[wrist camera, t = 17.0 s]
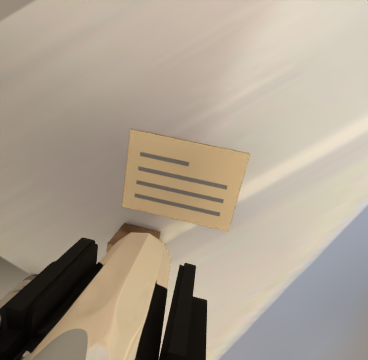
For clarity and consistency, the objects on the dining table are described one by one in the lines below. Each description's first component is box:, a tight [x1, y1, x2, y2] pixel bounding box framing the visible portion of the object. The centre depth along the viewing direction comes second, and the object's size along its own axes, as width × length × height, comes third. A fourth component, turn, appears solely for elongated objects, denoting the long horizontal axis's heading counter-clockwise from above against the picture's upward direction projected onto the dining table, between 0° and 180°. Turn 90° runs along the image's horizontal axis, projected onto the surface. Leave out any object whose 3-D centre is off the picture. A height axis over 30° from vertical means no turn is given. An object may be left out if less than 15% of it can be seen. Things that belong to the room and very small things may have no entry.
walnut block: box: [107, 223, 160, 252], centre depth 27 cm, size 5×5×5 cm
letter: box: [122, 129, 250, 231], centre depth 25 cm, size 14×10×1 cm
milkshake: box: [11, 232, 171, 360], centre depth 7 cm, size 4×5×10 cm
